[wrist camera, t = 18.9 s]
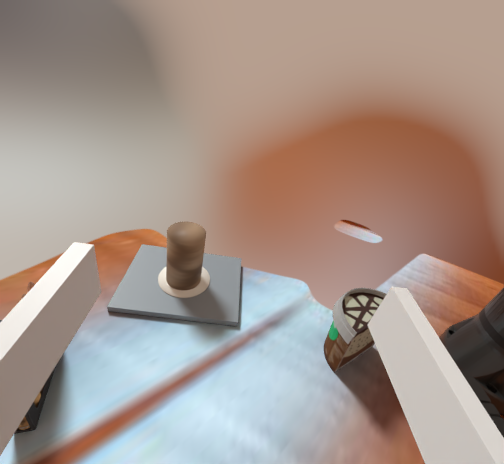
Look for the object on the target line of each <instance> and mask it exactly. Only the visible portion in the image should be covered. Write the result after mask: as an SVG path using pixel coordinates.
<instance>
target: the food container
mask: <svg viewBox="0 0 504 464" xmlns="http://www.w3.org/2000/svg"><path fill="white" fill-rule="evenodd" d="M386 295H387V294H385V293H383V292H380V291H377V290H374V289H369V288H356V289H353V290H350V291H349V292H347V293H345V294H344V295H343V296H342V297H341V298H340V299H339V300H338V301H337V302H336V303H335V305H334V308H333V323H332V325H331V328H330V330H329V333H328V335H327V338H326V340H325V344H324V354H325V358H326V360H327V363H328V364H329V366H330V368H331V369H332V370H333V372H334V373H335V372H336V371H338V370H339V369H341V368H342V367H344V366H345V365H347V364H348V363H350V362H351V361H353V360H354V359H355V358H357V357H358V356H360V355H361V354H363V353H364V352H366V351H367V350H369V349H370V348H372V346H373V345H374V344H375V342H374V340H373V337H372V335H371V333H370V330H369V328H368V323H369V321H370V320H371V318H372V317H373V315H374V314H375V312H376V310H377V309H378V307H379V306H380V304H381V303H382V301H383V299H384V298H385V296H386Z"/></svg>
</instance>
